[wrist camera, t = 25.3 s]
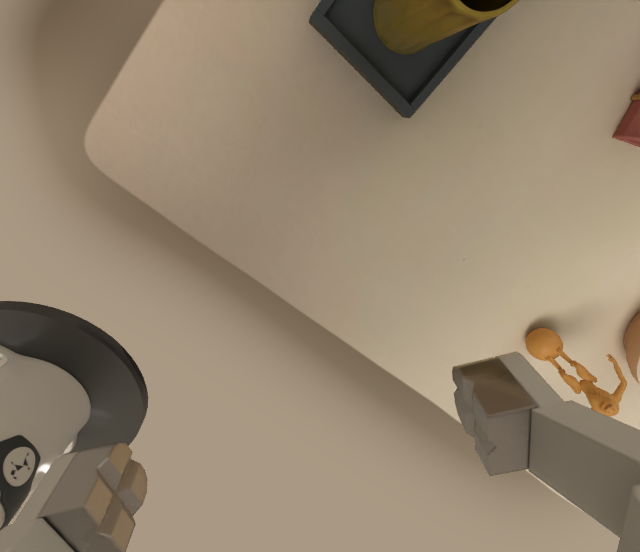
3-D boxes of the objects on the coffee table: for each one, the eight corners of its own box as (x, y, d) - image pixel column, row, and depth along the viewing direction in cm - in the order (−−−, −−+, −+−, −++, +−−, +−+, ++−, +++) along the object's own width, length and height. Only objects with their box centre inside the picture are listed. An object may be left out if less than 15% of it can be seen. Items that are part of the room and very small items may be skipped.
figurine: (553, 305, 46) (633, 369, 36) (577, 330, 48) (660, 398, 38) (499, 347, 49) (559, 419, 38) (525, 370, 51) (588, 444, 40)
